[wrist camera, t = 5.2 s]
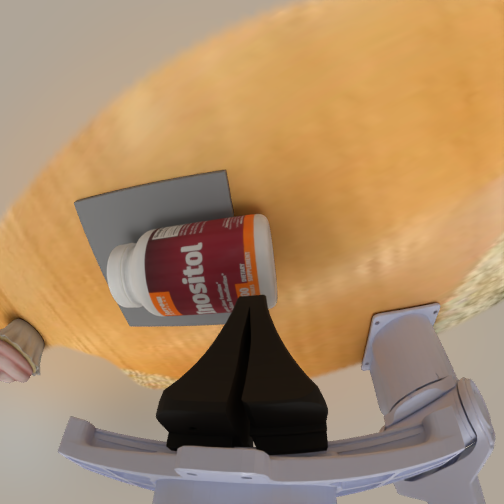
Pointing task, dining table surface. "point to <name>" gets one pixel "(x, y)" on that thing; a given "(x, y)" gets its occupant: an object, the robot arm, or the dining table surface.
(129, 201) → the mat
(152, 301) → the pill bottle
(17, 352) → the cupcake
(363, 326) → the dining table surface
